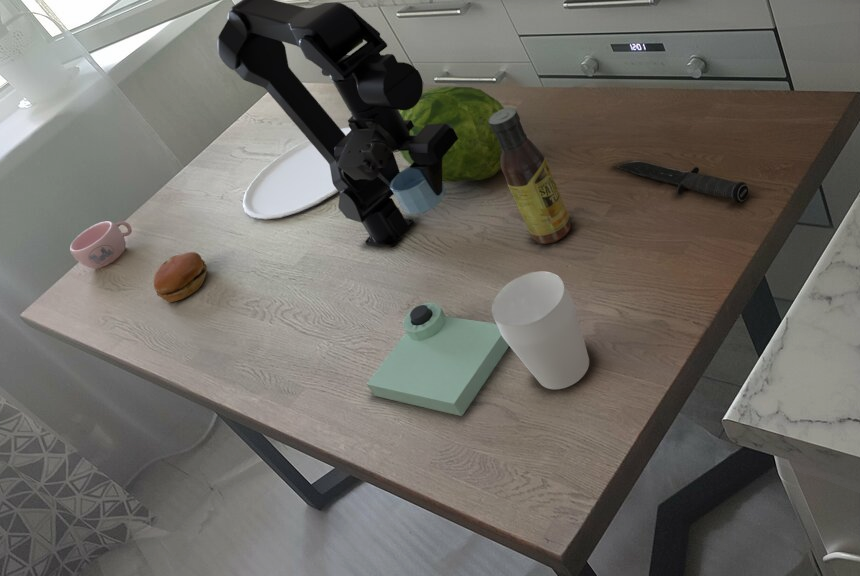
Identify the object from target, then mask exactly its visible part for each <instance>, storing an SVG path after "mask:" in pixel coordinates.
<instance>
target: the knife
mask: <svg viewBox="0 0 860 576" xmlns="http://www.w3.org/2000/svg"><path fill="white" fill-rule="evenodd" d="M616 168H618V169H622V170H625V171H627V172H630V173H632V174H635V175H637V176H641V177H644V178H647V179H651V180H655V181H659V182H663V183H666V184H670V185H674V186H677V188H676V194H678V195H682V193H683V191H684V190H685V189H688V190H691V191H694V192H698V193H700V194H704V195H710V196H713V197H719V198H724V199H732V200H733V201H734V202H736V203H742V202H744V201H745V200H746V199H747V198H748V197H749V194H750V189H749V186H748V184H747V183H746V182H744V181H738V182H736V181H732V180H728V179H725V178H722V177H717V176H713V175H708V174H703V173H700V168H699V167H698V166H694V167H693V168H692V169H691V170H690V171H688V170H685V171H684V170H679V169H676V168H670V167H667V166H662V165H659V164H654V163H650V162H647V161H641V160H640V161H639V160H636V161H635V160H634V161H629V162H625V163H622V164H620V165H618V166H616Z"/></svg>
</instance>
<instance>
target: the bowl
mask: <svg viewBox="0 0 860 576" xmlns="http://www.w3.org/2000/svg"><path fill="white" fill-rule="evenodd" d="M442 187H443V191H442V193H441V194H440V195H439V196H437V195H436V194H435V193H434V191H433V190H432V189H431V187H430V186H429V184H428V183H427V181H426V180H425V178H424V176H423V175H422V173H421V172H420V170H417V169H413V168H410V165H409V166H407V167H405V168H403V170H401V171H400V173H398V174H397V175H396V176H395V177H394V179H393V180H392V181H391V184H390V188H391V190H392V192H393V193H394V195H393V196H394V197H395V199H396V200H397V202H398V203H399V205H400V207H401V209H402V210H403V212H404V213H406V214H409V215H421V214H423V213H427V212H429V211H431V210H433V209H434V208H436V207H437V206H438V205H440V203H441V202H442V201H443V199H444V197H445V196H446V193H447V187H446V186H445V183H444V181H442Z"/></svg>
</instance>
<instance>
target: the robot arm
mask: <svg viewBox="0 0 860 576" xmlns="http://www.w3.org/2000/svg"><path fill="white" fill-rule="evenodd" d="M364 41H365V43H364ZM284 43H286V44H289V45H293V46H296V47H298V48H300V50H301V52H302V54H303V56H304V58H305V60H308V61H310V62H311V63H313V64H314V65H316V66H317V67H318V68H320V69H321V74H322V76H325V77H330V80H331V82H332V83H333V85H334V87H335V89H336V90H337V92H338V93H339V95H340V97H341V99H342V101H343V102H344V104H345V106H346V108H347V109H348V111H349V113H350V114H351V117H349V118H348V119H347V122H348V127H350V129H351V131H350V132H349V133H348V134H347V135H345V134H344V133H343V132H342V130H341V129H342V128H341V127H340V126H339V125H338V124H337V123H336V122H335V121H334V119H333V118H332V117H331V115H329V113H328V112H327V111H326V110H325V109H324V107H323V106H322V105H321V104H320V103H319V102H318V100H317V99H316V97H314V95H313V94H312V93H311V92H310V91H309V90H308V88H307V87H306V86H305V85H304V84H303V82H302V81H301V80H300V79H299V78H298V77H297V75H296V73H294V71H293V70H292V69H291V67H290V66H289V60H288V55H287V50H286V45H285V44H284ZM362 43H364V44H363V45H362ZM360 45H362V46H360ZM359 46H360V47H359ZM357 47H359V48H357ZM387 47H388V43H387V42H386V41H385V40H384V39H383V38H382V37H381V33H380V32H379V31H378V30H377V29H376V28H375V27H373V26H372V24H370V23H368V21H366V19H364V18H363V17H361V16H360V14H359V13H357V12H356V11H355V10H354V9H353V8H351V7H349V6H348V5H346V4H344V3H342V2H338V1H337V2H324V3H321V4H318V5H315V6H312V7H304V6H300V5H296V4H291V3H287V2H283V1H279V0H240V1H238V2H237V3H236V4H234V5H233V6H231V8H230V10H228V13H227V20H226V23H225V24H224V26H223V27H222V30H221V31H220V33H219V34H218V37H217V54H218V56H219V58H220V59H221V61H222V63H224V65H225V66H226V67H227V68H228V69H230V70H231V71H234V72H235V73H236V74H237V75H238V76H239V77H240V78H241V79H242V80H243V81H244V82H248V83H251V84H253V85H256V86H259V87H261V88H264V89H265V91H266V92H267V93H268V94H269V95H270V96H271V97H272V99H273V100H274V101H275V102H276V103H277V105H278V106H279V107H280V108H281V109H282V110H283V112H284V113H285V114H286V115H287V116H288V117H289V118H290V120H291V121H292V122H293V123H294V125H295V126H296V127H297V128H298V129H299V130H300V132H301V133H302V134H303V135H304V136H305V138H307V140H309V141H310V142H311V143H312V144H313V145H314V147H315V148H316V149H317V150H318V151H319V152H320V154H321V155H322V156H323V157H324V158H325V159H326V161H327V162H328V163H329V165H330V170H331V176H332V182H333V185H334V186H335V188H336V189H337V190H338V192H337V193H339V197H338V210H339V211H340V213H342V215H344V217H345V218H346V219H349V220H352V221H354V222H358V223H360V224H361V225H363V227H364V229H365V230H366V232H367V233H368V235H369V237H367V239H366V240H365V241H364V243H365V245H366V246H375V247H386V248H392V247H395V245H397V243H398V242H399V241H400V240H401V238H402V237H403V236H404V235H405V234H406V233H407V231H409V229H410V228H411V226H413V224H414V223H415V220H414V219H413V218H405V216H404V215H403V213H402V211H401V210H400V208H399V207H398V206H397V204H396V202H395V201H394V199H393V198H392V197H393V196H395V195H394V193H393V192H392V190H391V188H390V184H391V181H392V180H393V179H394V177H395V176H396V175H397V174H398V173H400V172H401V171H400V168H399V166H398V163H397V160H396V157H395V153H399V151H409V152H408V154H409V156H410V157H411V159H412V160H413V161H414V162H413V163H412V164H409V166H410V168H413V169H417V170H420V172H421V173H422V175H423V176H424V178H425V180H426V181H427V183H428V184H429V186H430V187H431V189H432V190H433V191H434V193H435V194H436V195H437V196H439V195H440V194H441V193H442V191H443V187H442V182H443V181H442V159H443V156H444V155H445V154H446V153H447V151H448V150H449V149H450V148H451V147H452V146H453V144H454V143H455V142H456V141H457V140H458V137H457V135H456V133H455V131H454V129H453V127H452V125H450V124H446V123H442V124H426V125H425V127H424V128H423V129H422V130H421V131H420V132H419V133H418V134H417V135H410V133H409V131H410V130H411V129H412V128H413V127H414V125H413V123H412V121H411V120H403V118H402V116H401V114H400V112H399V110H409V109H411V108H413V107H414V106H415V105H416V104H417V103H418V102H419V100H420V98H421V95H422V92H424V91H423V90H424V83H423V77H422V76H421V73H420V71H419V70H418V69H417V68H415V66H413V65H412V64H410V63H409V62H403V61H398V60H397V58H396V56H395V55H394V54H393V53H386V54H381V52H382V51H384V50H385V49H386V48H387ZM356 48H357V49H356ZM354 49H356V50H355V51H354V52H352V51H353V50H354ZM351 52H352V53H351ZM349 53H351V54H349Z"/></svg>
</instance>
